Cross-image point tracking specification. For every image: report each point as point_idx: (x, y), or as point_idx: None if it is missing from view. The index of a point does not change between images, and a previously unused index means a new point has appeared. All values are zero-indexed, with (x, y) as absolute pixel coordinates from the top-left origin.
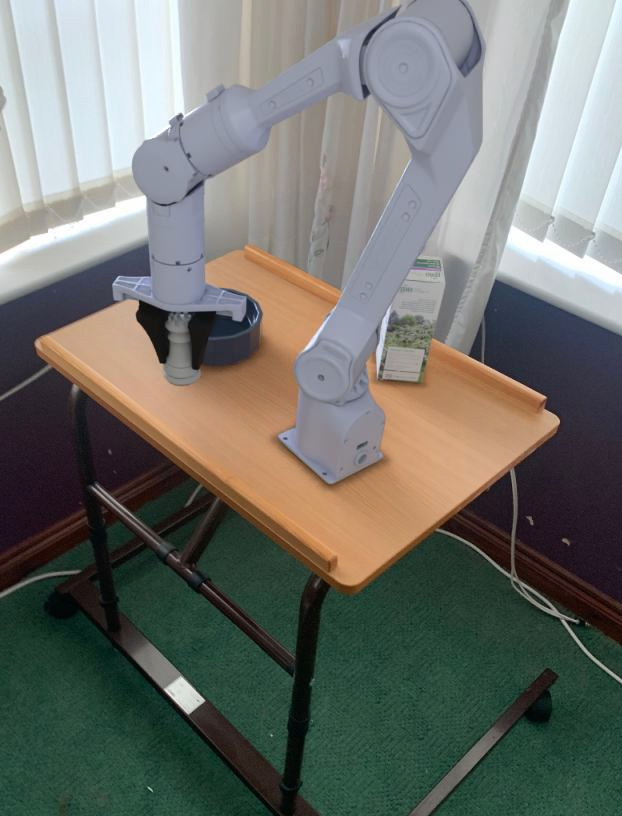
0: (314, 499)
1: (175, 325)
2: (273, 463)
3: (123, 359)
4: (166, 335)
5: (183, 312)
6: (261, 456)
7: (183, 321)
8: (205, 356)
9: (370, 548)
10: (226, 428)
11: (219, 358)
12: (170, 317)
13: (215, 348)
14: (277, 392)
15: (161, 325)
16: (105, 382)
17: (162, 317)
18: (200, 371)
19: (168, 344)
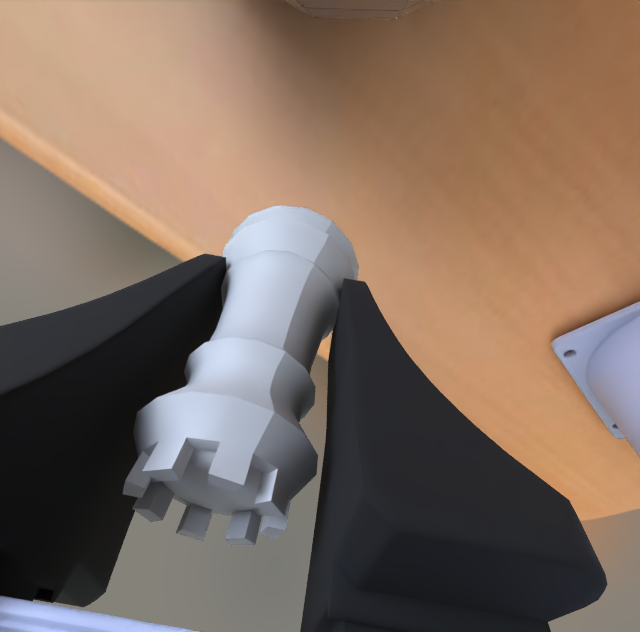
0: (569, 448)
1: (213, 512)
2: (517, 391)
3: (29, 5)
4: (174, 337)
5: (209, 481)
6: (496, 378)
7: (246, 509)
8: (356, 13)
9: (617, 501)
10: (428, 313)
11: (424, 2)
12: (152, 513)
13: (411, 3)
14: (627, 141)
15: (132, 459)
16: (70, 170)
17: (101, 485)
18: (355, 257)
19: (202, 299)
